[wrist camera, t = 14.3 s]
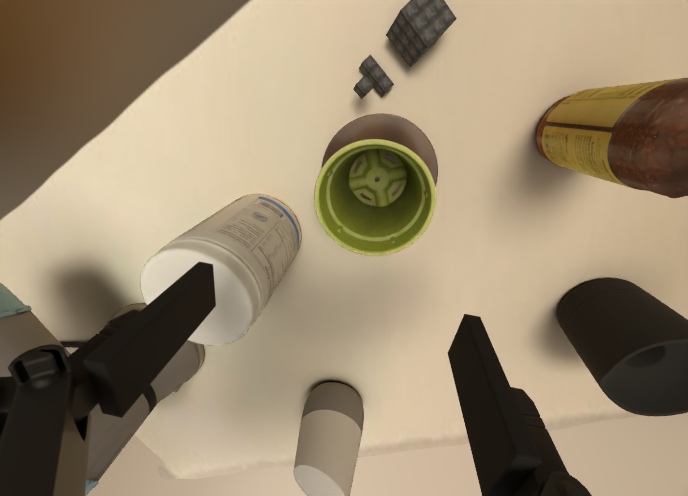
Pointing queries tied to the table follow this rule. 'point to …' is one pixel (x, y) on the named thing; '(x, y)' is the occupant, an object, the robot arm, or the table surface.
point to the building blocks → (408, 40)
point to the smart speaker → (329, 440)
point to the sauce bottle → (623, 135)
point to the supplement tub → (230, 263)
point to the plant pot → (375, 197)
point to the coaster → (386, 130)
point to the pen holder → (629, 345)
